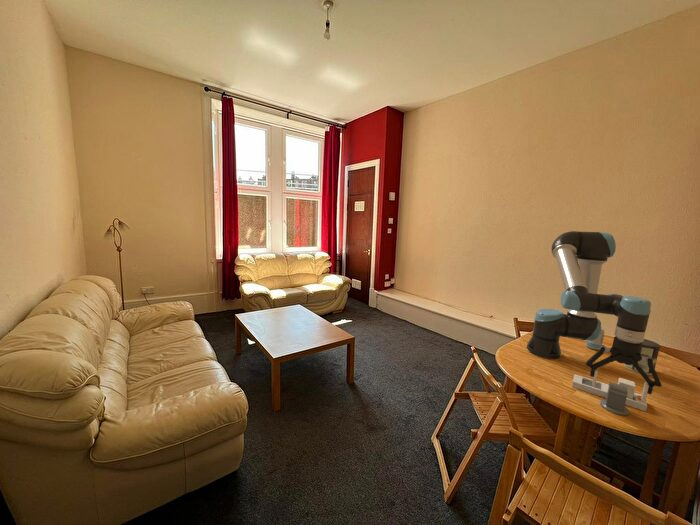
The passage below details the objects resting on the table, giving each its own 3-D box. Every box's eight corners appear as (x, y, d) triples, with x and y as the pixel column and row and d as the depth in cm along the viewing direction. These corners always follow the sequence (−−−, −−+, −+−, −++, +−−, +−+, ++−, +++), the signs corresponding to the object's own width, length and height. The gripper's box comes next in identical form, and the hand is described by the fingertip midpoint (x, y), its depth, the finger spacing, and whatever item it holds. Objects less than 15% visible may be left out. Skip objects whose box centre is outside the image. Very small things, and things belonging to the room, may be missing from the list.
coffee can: (642, 365, 140) (648, 338, 138) (660, 376, 130) (667, 348, 128) (618, 362, 142) (623, 336, 140) (634, 373, 132) (640, 345, 130)
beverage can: (584, 344, 162) (588, 324, 160) (600, 347, 158) (604, 327, 156) (585, 348, 157) (589, 328, 155) (602, 352, 153) (606, 331, 151)
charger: (605, 400, 110) (609, 381, 109) (622, 406, 107) (626, 386, 106) (605, 406, 107) (609, 387, 105) (623, 412, 103) (627, 392, 102)
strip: (572, 386, 120) (573, 380, 119) (573, 377, 127) (574, 371, 126) (645, 411, 106) (647, 404, 105) (643, 399, 113) (644, 392, 112)
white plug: (616, 395, 112) (619, 382, 111) (616, 390, 115) (619, 377, 114) (632, 400, 109) (635, 386, 108) (631, 395, 112) (634, 381, 111)
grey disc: (600, 408, 107) (600, 406, 106) (600, 398, 113) (600, 396, 112) (629, 418, 101) (629, 416, 101) (627, 407, 107) (628, 406, 107)
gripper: (583, 332, 108) (574, 382, 111) (682, 354, 91) (668, 413, 95) (584, 326, 113) (575, 375, 117) (677, 347, 97) (664, 402, 101)
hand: (617, 392), depth 106 cm, fingers open, 13 cm apart
